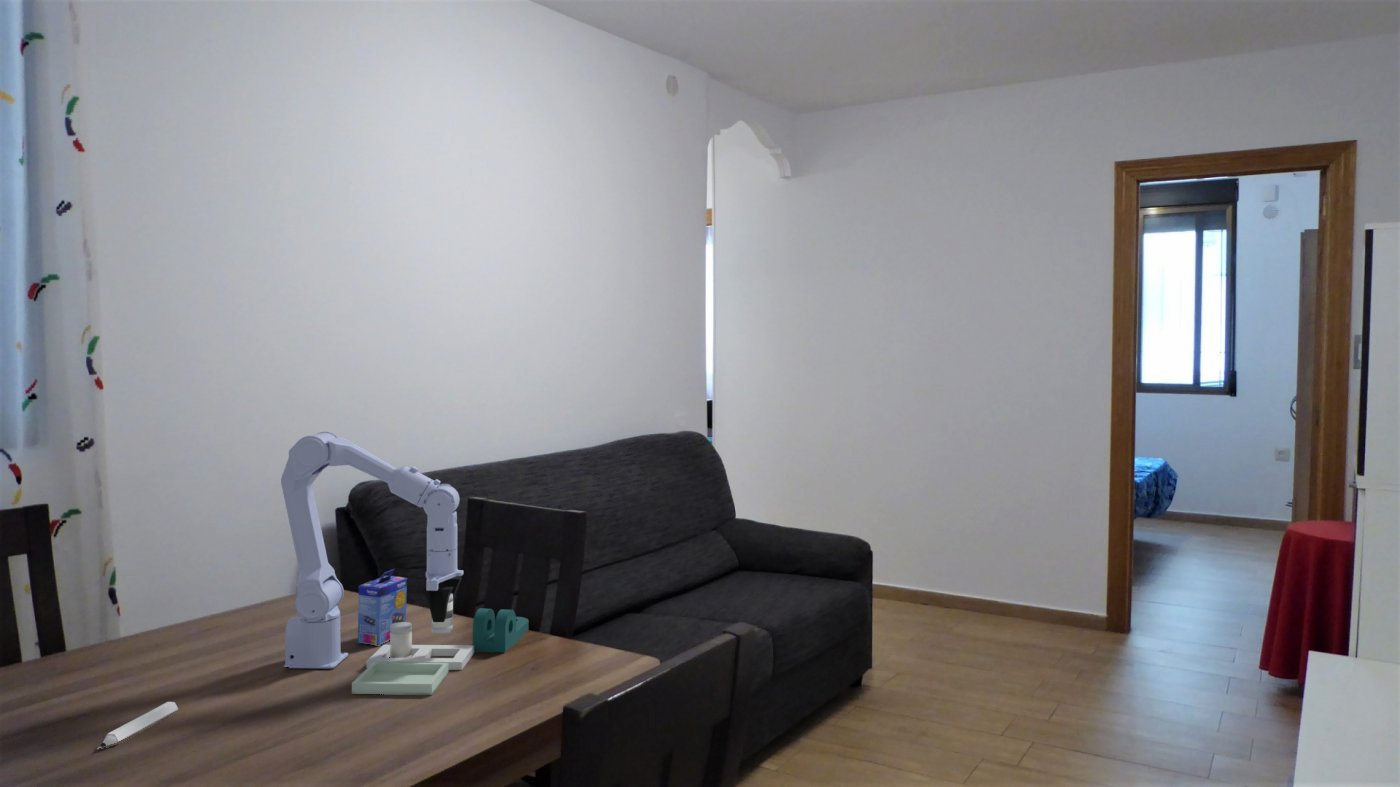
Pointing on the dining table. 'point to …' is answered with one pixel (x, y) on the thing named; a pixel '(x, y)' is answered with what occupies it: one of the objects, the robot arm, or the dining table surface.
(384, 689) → the parts tray
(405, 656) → the cylinder
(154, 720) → the marker
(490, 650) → the bracket
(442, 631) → the cylinder
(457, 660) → the fuse holder
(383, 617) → the ink cartridge box
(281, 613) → the dining table surface
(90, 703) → the dining table surface
